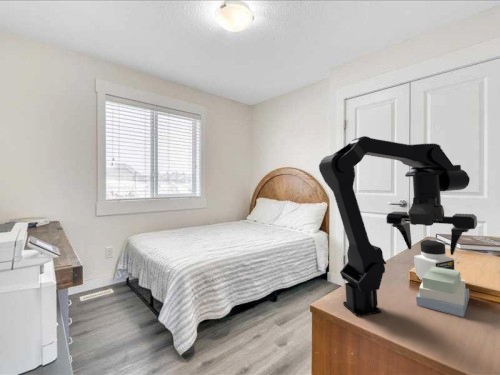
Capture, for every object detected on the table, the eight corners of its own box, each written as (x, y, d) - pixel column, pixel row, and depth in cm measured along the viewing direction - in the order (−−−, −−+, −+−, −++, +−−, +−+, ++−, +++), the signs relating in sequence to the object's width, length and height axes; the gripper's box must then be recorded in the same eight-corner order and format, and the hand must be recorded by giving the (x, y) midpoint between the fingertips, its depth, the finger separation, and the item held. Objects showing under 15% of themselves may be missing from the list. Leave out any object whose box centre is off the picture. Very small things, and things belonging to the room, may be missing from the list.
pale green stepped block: (432, 275, 69) (432, 266, 69) (460, 280, 64) (460, 271, 64) (422, 287, 62) (422, 277, 62) (453, 294, 58) (453, 283, 58)
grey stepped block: (464, 317, 56) (463, 297, 56) (416, 304, 63) (415, 287, 62) (469, 297, 64) (468, 280, 64) (427, 288, 71) (426, 272, 71)
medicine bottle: (437, 286, 71) (434, 245, 71) (414, 278, 78) (412, 240, 78) (455, 282, 73) (453, 241, 73) (432, 274, 80) (430, 237, 80)
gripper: (377, 195, 67) (380, 253, 67) (469, 195, 53) (473, 267, 54) (391, 192, 75) (394, 244, 75) (475, 191, 61) (479, 254, 61)
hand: (429, 251), depth 66 cm, fingers open, 9 cm apart
